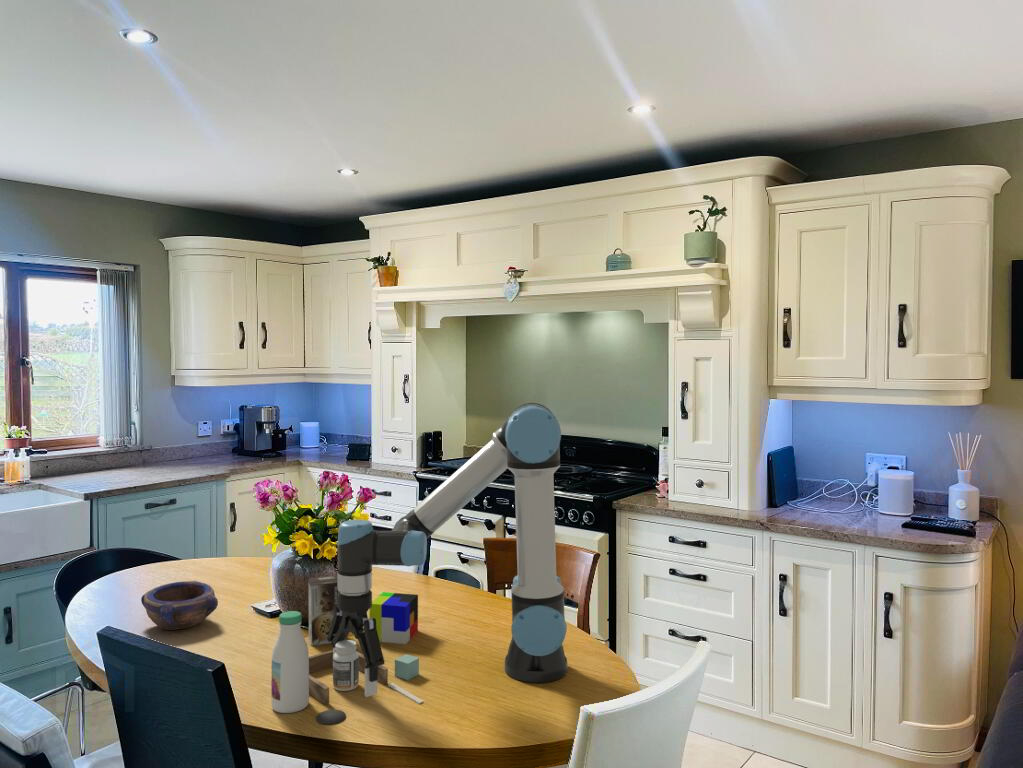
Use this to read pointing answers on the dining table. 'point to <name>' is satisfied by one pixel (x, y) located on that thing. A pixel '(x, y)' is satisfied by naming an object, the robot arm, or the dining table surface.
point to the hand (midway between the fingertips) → (354, 684)
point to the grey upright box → (321, 607)
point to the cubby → (325, 661)
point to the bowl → (179, 604)
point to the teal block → (406, 667)
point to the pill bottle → (345, 666)
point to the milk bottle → (290, 666)
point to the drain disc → (330, 717)
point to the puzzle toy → (395, 616)
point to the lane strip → (405, 693)
